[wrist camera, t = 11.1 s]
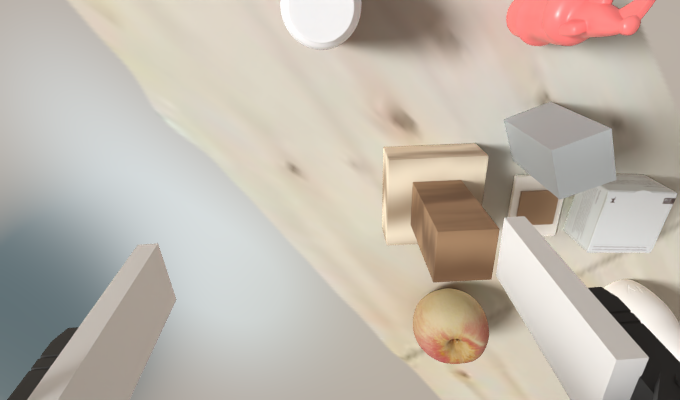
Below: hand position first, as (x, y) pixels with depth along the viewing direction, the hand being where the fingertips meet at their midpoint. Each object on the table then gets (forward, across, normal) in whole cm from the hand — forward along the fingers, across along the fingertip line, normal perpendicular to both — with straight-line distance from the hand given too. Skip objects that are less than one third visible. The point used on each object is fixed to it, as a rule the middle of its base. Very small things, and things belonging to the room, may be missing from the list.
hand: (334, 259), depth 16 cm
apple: (+28, +13, -29) cm, 42 cm away
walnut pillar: (+24, +10, -12) cm, 29 cm away
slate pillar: (+29, +22, -6) cm, 36 cm away
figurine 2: (+28, +37, -30) cm, 55 cm away
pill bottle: (+29, 0, +8) cm, 30 cm away
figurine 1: (+29, +20, +6) cm, 36 cm away
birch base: (+28, +10, -12) cm, 32 cm away
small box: (+29, +32, -16) cm, 45 cm away
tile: (+28, +23, -15) cm, 40 cm away
